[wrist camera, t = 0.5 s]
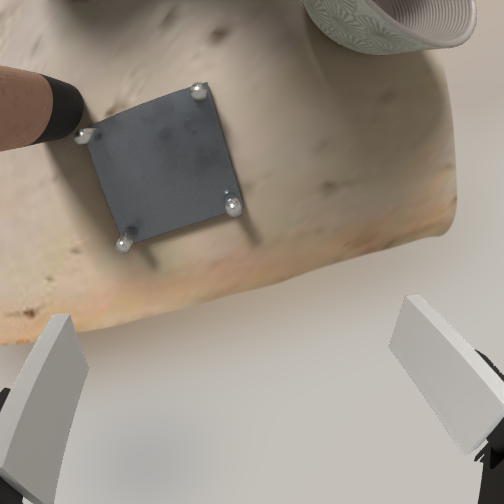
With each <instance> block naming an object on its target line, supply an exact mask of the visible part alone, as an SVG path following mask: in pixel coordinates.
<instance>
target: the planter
mask: <svg viewBox="0 0 504 504" xmlns="http://www.w3.org/2000/svg"><path fill="white" fill-rule="evenodd" d="M303 3H304V6H305V9H306V11H307V13H308V14H309V16H310V18H311V19H312V21H313V22H314V23H315V25H316V26H317V27H318V28H319V29H320V30H321V31H322V32H323V33H324V34H325V35H327V36H328V37H329V38H330V39H332V40H333V41H335V42H337V43H338V44H340V45H342V46H344V47H346V48H348V49H351V50H354V51H357V52H361V53H365V54H371V55H392V54H399V53H406V52H414V51H422V50H432V49H443V48H453V47H457V46H459V45H462V44H463V43H464V42H466V41H467V40H468V39H469V38H470V37H471V35H472V33H473V31H474V29H475V26H476V20H477V8H476V1H475V0H303Z"/></svg>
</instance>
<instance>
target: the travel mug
mask: <svg viewBox="0 0 504 504" xmlns="http://www.w3.org/2000/svg"><path fill="white" fill-rule="evenodd" d="M82 111H83V101H82V97H81V94H80V93H79V91H78V90H77V89H76V88H75V87H74V86H72V85H71V84H68V83H65V82H63V81H60V80H57V79H54V78H51V77H48V76H45V75H42V74H39V73H35V72H30V71H26V70H21V69H16V68H11V67H6V66H0V151H5V150H10V149H16V148H21V147H26V146H30V145H34V144H38V143H42V142H47V141H51V140H56V139H60V138H63V137H65V136H67V135H68V134H70V133H71V132H72V131H73V130H74V129H75V127H76V126H77V125H78V123H79V121H80V119H81V116H82Z"/></svg>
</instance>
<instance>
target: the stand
mask: <svg viewBox="0 0 504 504" xmlns="http://www.w3.org/2000/svg"><path fill="white" fill-rule="evenodd" d="M74 139H75V142H76V143H78V144H85V143H87V146H88V150H89V153H90V156H91V159H92V162H93V165H94V168H95V170H96V173H97V176H98V179H99V182H100V184H101V187H102V190H103V193H104V195H105V198H106V201H107V203H108V206H109V208H110V211H111V213H112V216H113V218H114V221H115V223H116V226H117V228H118V231H119V233H120V236H121V237H120V238H119V239H118V241H117V242H116V244H115V249H116V251H117V252H118V253H120V254H125V253H127V252H128V250H129V249H130V247H131V245H132V244H134V243H137V242H140V241H142V240H145V239H148V238H151V237H154V236H157V235H160V234H163V233H166V232H169V231H172V230H175V229H178V228H181V227H184V226H187V225H190V224H193V223H196V222H199V221H202V220H205V219H209V218H212V217H215V216H218V215H221V214H224V213H227V214H228V215H229V216H230V217H238V216H239V215H240V214H241V213H242V208H244V205H243V202H242V198H241V195H240V192H239V188H238V185H237V181H236V178H235V175H234V171H233V168H232V164H231V161H230V158H229V154H228V151H227V147H226V144H225V141H224V137H223V134H222V131H221V127H220V124H219V120H218V117H217V114H216V110H215V107H214V104H213V100H212V97H211V94H210V90H209V87H208V83H207V82H205V83H195V84H193V85H192V86H191V87H189V88H186V89H183V90H179V91H176V92H173V93H170V94H168V95H165V96H162V97H159V98H156V99H154V100H151V101H148V102H146V103H143V104H140V105H138V106H135V107H133V108H130V109H128V110H125V111H123V112H121V113H118V114H116V115H114V116H111V117H109V118H107V119H105V120H102V121H100V122H98V123H96V124H94V125H92V126H89V127H87V128H85V129H79V130H77V131H76V133H75V135H74Z"/></svg>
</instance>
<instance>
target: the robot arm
mask: <svg viewBox="0 0 504 504" xmlns="http://www.w3.org/2000/svg"><path fill="white" fill-rule="evenodd" d="M389 348H390V349H391V351H392V352H393V354H394V355H395V356H396V358H397V359H398V360H399V362H400V363H401V365H402V366H403V367H404V369H405V370H406V372H407V373H408V374H409V376H410V377H411V379H412V380H413V382H414V383H415V384H416V386H417V387H418V389H419V390H420V392H421V393H422V394H423V396H424V397H425V399H426V400H427V402H428V403H429V405H430V406H431V408H432V409H433V410H434V412H435V414H436V415H437V417H438V418H439V420H440V421H441V423H442V424H443V426H444V427H445V429H446V430H447V432H448V433H449V435H450V436H451V438H452V439H453V441H454V443H455V444H456V446H457V447H458V449H459V450H460V452H461V454H462V455H463V456H465V455H467V454H469V453H471V452H472V451H474V450H475V449H477V448H478V447H479V446H480V445H481V444H482V442H483V441H484V440H485V439H487V441H488V443H487V444H486V445H485V447H484V448H483V449H482V450H481V451H480V452H479V453H478V454H477V455H476V457H475V460H474V461H477V460H478V459H479V458H480V457H481V456H482V455H483V454H484V456H483V457H482V458H481V460H480V462H483V472H482V480H481V488H480V494H479V499H478V504H504V375H503V374H502V373H500V372H499V370H498V369H497V368H496V366H493V363H492V362H491V361H490V360H489V359H488V358H487V357H486V356H485V355H484V354H482V353H480V352H479V351H477V350H474V349H473V348H472V347H471V346H470V345H469V344H468V343H467V341H465V340H464V338H463V337H462V336H461V335H460V334H459V333H458V332H457V331H456V330H455V329H454V328H453V327H452V326H450V324H449V323H448V322H447V321H446V320H445V319H444V318H443V317H442V316H441V315H440V314H439V313H438V312H437V311H436V310H435V309H434V308H433V307H431V305H429V304H428V303H427V302H426V301H425V300H424V299H423V298H422V297H421V296H420V295H419V294H415V295H407V296H405V297H404V301H403V304H402V308H401V311H400V314H399V318H398V321H397V324H396V327H395V330H394V333H393V336H392V339H391V341H390V344H389ZM88 370H89V366H88V364H87V362H86V359H85V356H84V354H83V351H82V348H81V346H80V343H79V340H78V337H77V334H76V331H75V328H74V325H73V322H72V319H71V316H70V314H53V315H52V316H51V318H50V320H49V321H48V323H47V324H46V326H45V328H44V329H43V331H42V333H41V335H40V336H39V338H38V340H37V341H36V343H35V345H34V347H33V348H32V350H31V352H30V354H29V356H28V357H27V359H26V361H25V363H24V365H23V367H22V369H21V371H20V372H19V374H18V376H17V378H16V380H15V382H14V384H13V387H12V388H11V389H9V388H4V389H3V390H2V391H1V392H0V504H23V503H22V499H23V496H24V497H25V498H26V499H28V500H29V501H30V502H32V503H33V504H54V499H55V493H56V488H57V483H58V478H59V473H60V468H61V464H62V460H63V455H64V451H65V447H66V443H67V439H68V436H69V432H70V428H71V425H72V421H73V417H74V414H75V411H76V407H77V404H78V401H79V398H80V394H81V391H82V388H83V385H84V382H85V379H86V376H87V373H88Z"/></svg>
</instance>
